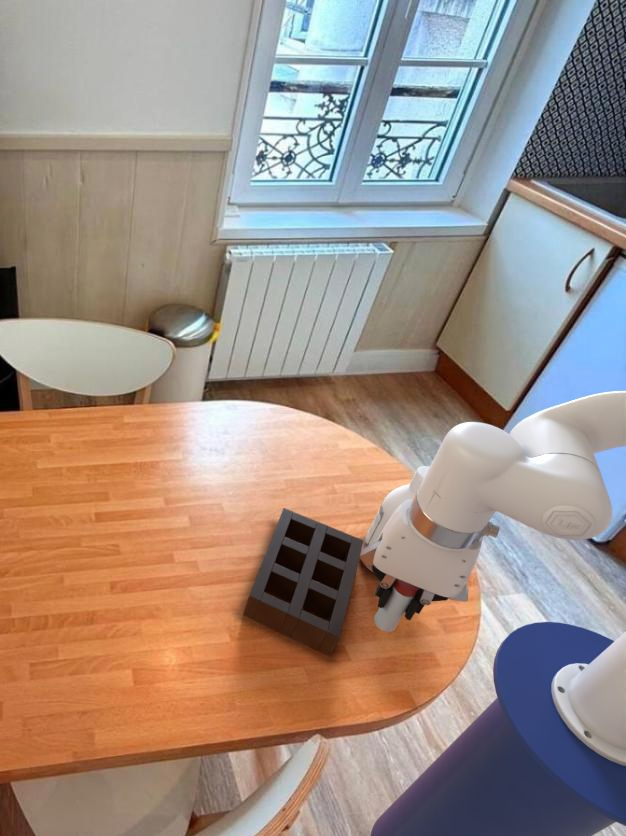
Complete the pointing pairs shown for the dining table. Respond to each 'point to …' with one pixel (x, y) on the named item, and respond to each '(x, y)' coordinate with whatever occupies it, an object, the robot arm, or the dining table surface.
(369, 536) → the bath foam
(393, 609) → the test tube
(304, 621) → the rack
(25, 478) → the dining table surface
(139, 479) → the dining table surface
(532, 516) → the robot arm
